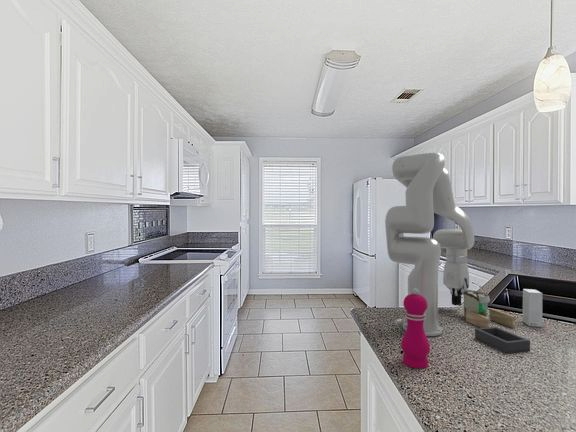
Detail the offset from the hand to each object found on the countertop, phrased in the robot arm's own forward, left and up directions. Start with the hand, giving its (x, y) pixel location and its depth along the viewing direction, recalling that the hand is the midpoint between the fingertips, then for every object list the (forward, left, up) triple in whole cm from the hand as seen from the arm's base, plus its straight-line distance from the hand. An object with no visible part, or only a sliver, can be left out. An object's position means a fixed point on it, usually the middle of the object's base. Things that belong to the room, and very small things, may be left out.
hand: (456, 304), depth 137 cm
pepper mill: (-44, -39, -3) cm, 59 cm away
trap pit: (-11, -33, -3) cm, 35 cm away
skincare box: (+15, -20, -3) cm, 25 cm away
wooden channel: (0, -17, -3) cm, 17 cm away
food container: (0, -12, -3) cm, 12 cm away
